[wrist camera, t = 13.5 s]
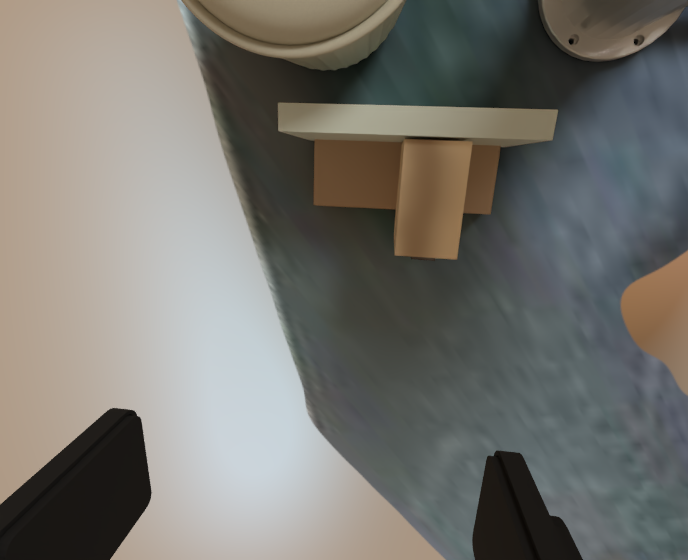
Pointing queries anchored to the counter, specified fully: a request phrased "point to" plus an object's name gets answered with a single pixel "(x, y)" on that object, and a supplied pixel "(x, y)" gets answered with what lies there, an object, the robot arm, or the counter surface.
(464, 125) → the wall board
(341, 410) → the counter surface
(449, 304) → the counter surface
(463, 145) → the oak box
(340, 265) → the counter surface
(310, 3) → the canister
